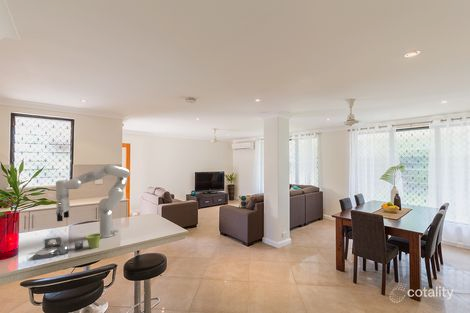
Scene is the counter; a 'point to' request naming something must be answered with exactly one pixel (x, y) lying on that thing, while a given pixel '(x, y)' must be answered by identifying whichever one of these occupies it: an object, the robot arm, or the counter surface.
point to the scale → (49, 248)
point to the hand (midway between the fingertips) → (63, 219)
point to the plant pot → (93, 240)
